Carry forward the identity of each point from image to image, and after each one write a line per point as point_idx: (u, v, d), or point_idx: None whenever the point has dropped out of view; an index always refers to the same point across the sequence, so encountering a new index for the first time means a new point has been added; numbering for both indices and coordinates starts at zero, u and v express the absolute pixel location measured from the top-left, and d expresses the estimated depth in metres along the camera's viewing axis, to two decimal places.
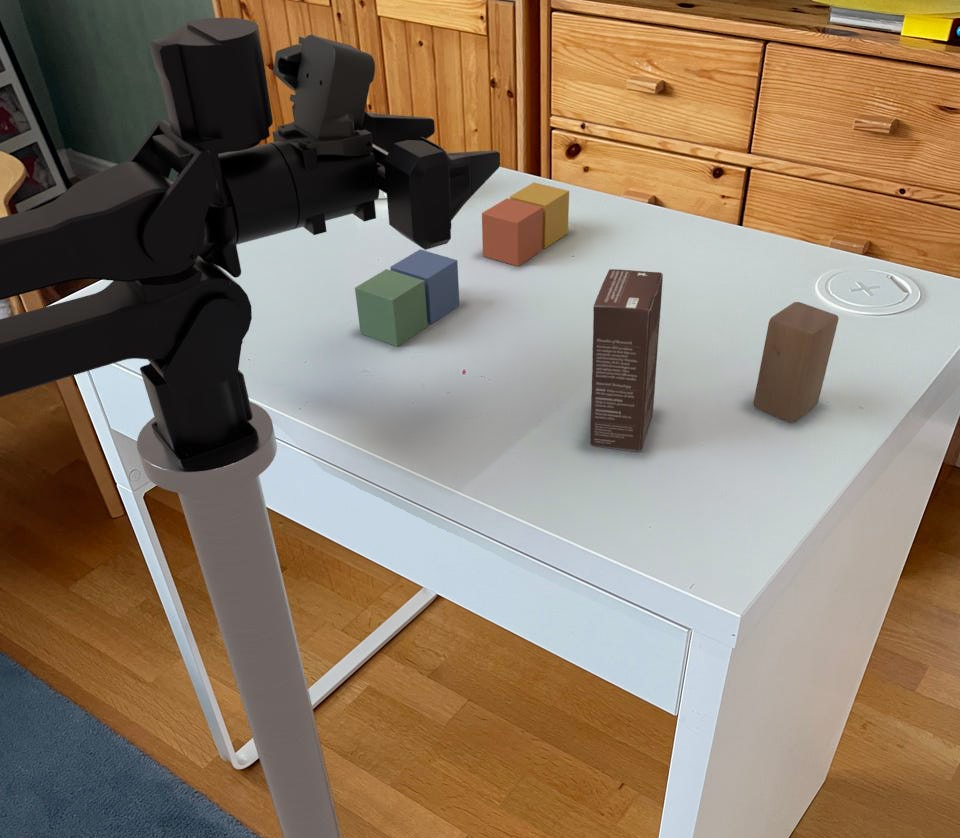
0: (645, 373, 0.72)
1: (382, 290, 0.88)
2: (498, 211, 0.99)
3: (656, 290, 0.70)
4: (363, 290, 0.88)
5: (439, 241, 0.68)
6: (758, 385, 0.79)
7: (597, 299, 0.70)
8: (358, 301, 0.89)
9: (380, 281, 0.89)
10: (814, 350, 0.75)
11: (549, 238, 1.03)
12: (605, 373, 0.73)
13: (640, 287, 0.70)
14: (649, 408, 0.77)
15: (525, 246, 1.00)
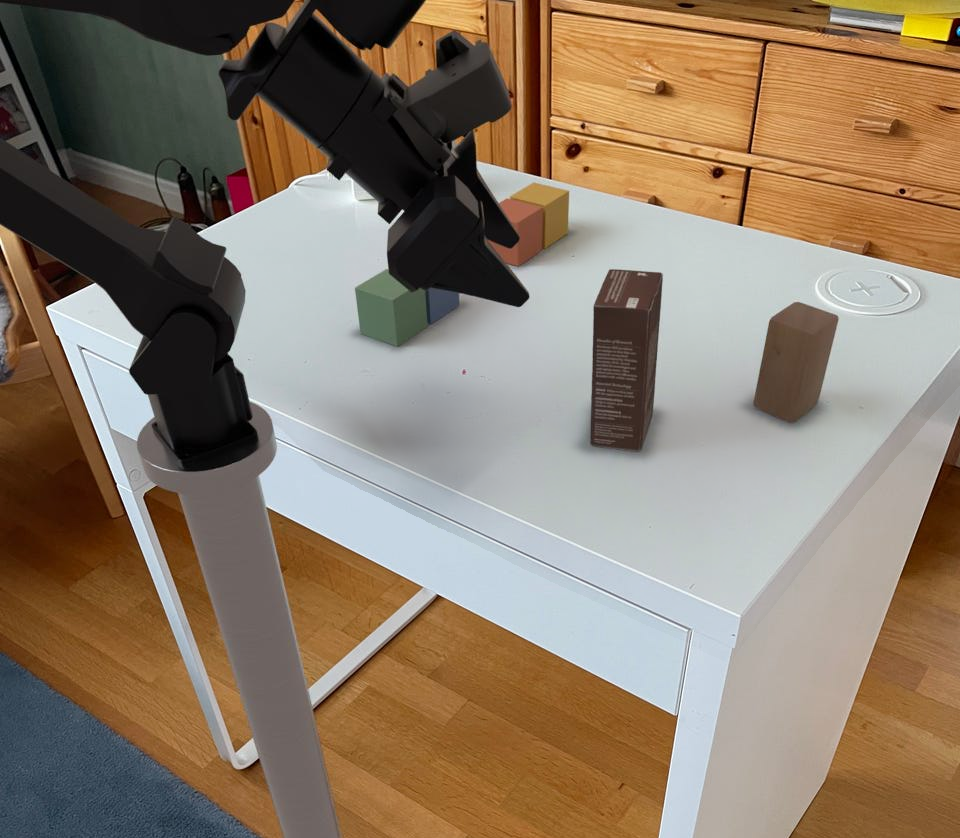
0: (645, 373, 0.72)
1: (382, 290, 0.88)
2: None
3: (656, 290, 0.70)
4: (363, 290, 0.88)
5: (406, 280, 0.60)
6: (758, 385, 0.79)
7: (597, 299, 0.70)
8: (358, 301, 0.89)
9: (380, 281, 0.89)
10: (814, 350, 0.74)
11: (549, 238, 1.03)
12: (605, 373, 0.73)
13: (640, 287, 0.70)
14: (649, 408, 0.77)
15: (525, 246, 1.00)
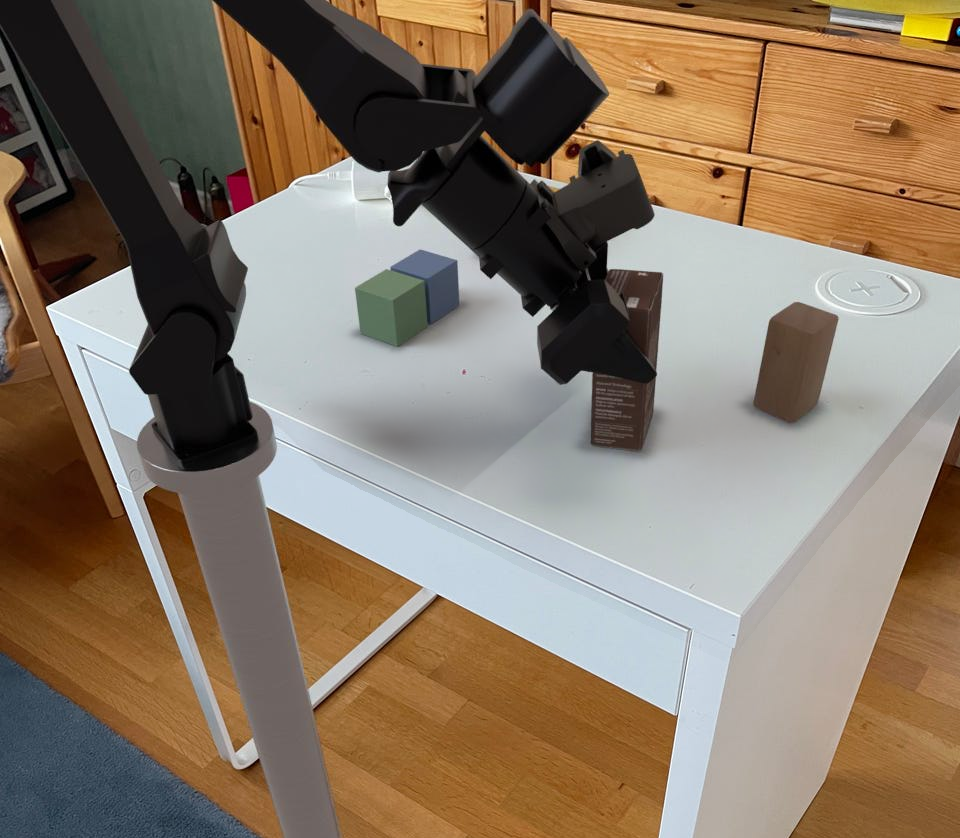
0: None
1: (382, 290, 0.88)
2: None
3: (656, 290, 0.70)
4: (363, 290, 0.88)
5: (557, 375, 0.65)
6: (758, 385, 0.79)
7: None
8: (358, 301, 0.89)
9: (380, 281, 0.89)
10: (814, 350, 0.74)
11: None
12: None
13: (640, 287, 0.70)
14: (649, 408, 0.77)
15: None
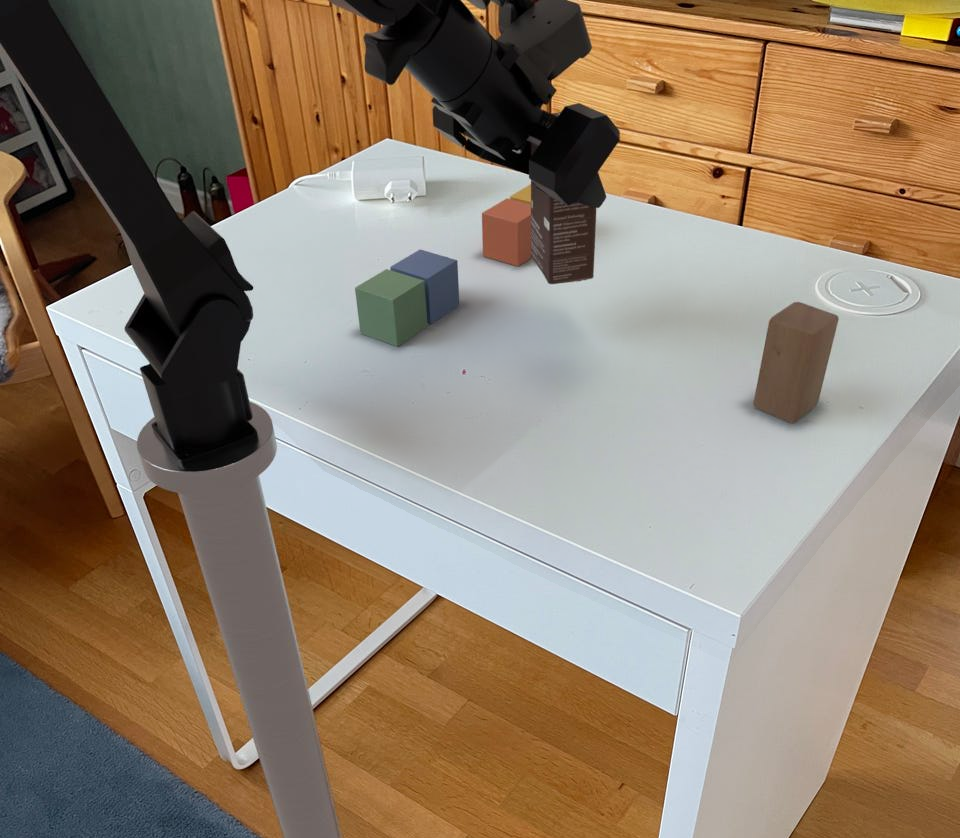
0: None
1: (382, 290, 0.88)
2: (498, 211, 0.99)
3: None
4: (363, 290, 0.88)
5: (570, 194, 0.71)
6: (758, 385, 0.79)
7: None
8: (358, 301, 0.89)
9: (380, 281, 0.89)
10: (814, 350, 0.74)
11: None
12: (562, 207, 0.80)
13: None
14: None
15: (525, 246, 1.00)
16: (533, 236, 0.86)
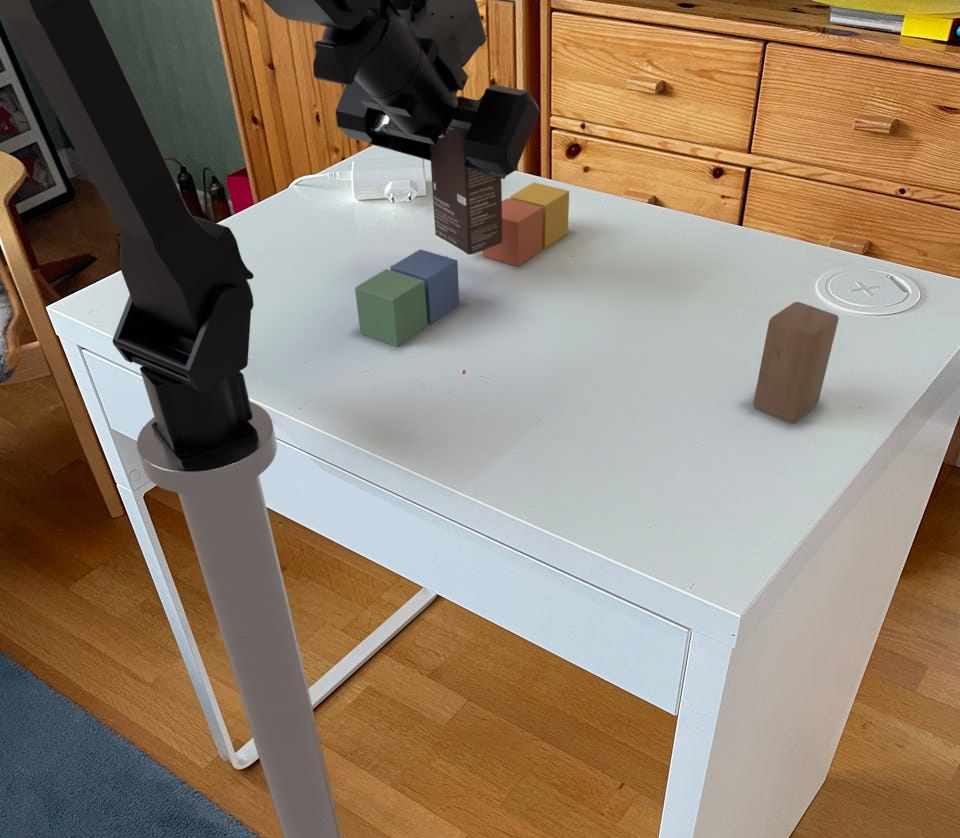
0: None
1: (382, 290, 0.88)
2: None
3: None
4: (363, 290, 0.88)
5: (511, 164, 0.80)
6: (758, 385, 0.79)
7: None
8: (358, 301, 0.89)
9: (380, 281, 0.89)
10: (814, 350, 0.74)
11: (549, 238, 1.03)
12: (475, 182, 0.89)
13: None
14: None
15: (525, 246, 1.00)
16: (439, 215, 0.94)
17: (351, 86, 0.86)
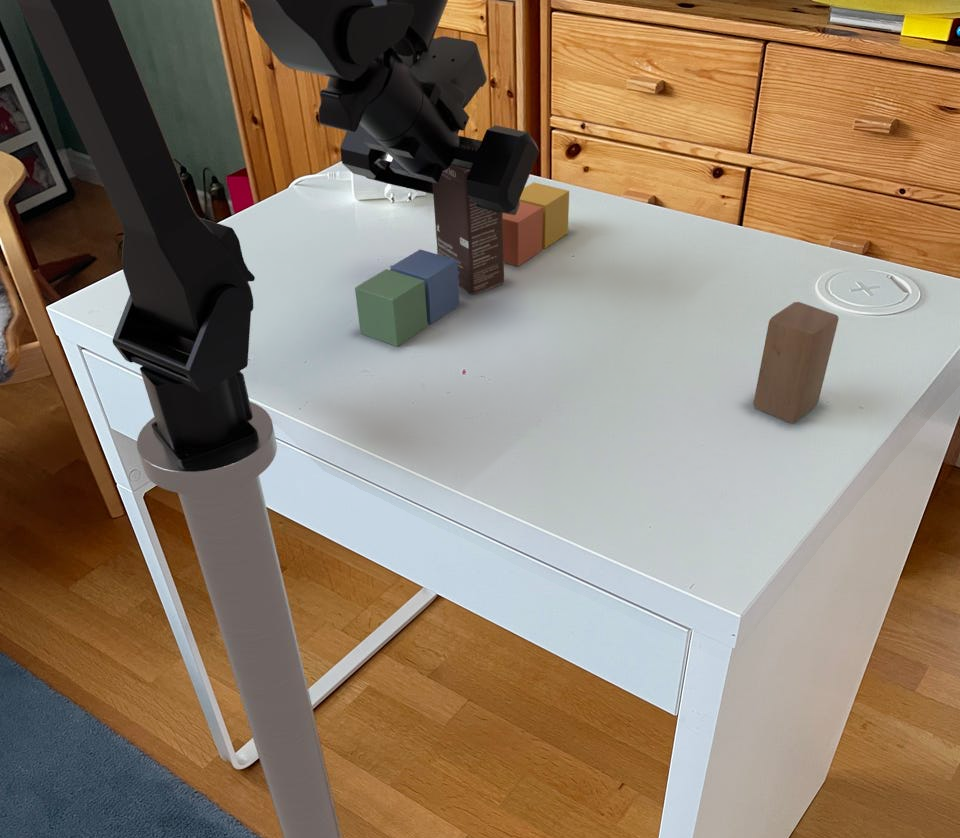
0: None
1: (382, 290, 0.88)
2: None
3: None
4: (363, 290, 0.88)
5: (511, 203, 0.83)
6: (758, 385, 0.79)
7: (460, 168, 0.88)
8: (358, 301, 0.89)
9: (380, 281, 0.89)
10: (814, 350, 0.74)
11: (549, 238, 1.03)
12: (477, 226, 0.92)
13: None
14: None
15: (525, 246, 1.00)
16: (442, 255, 0.97)
17: None
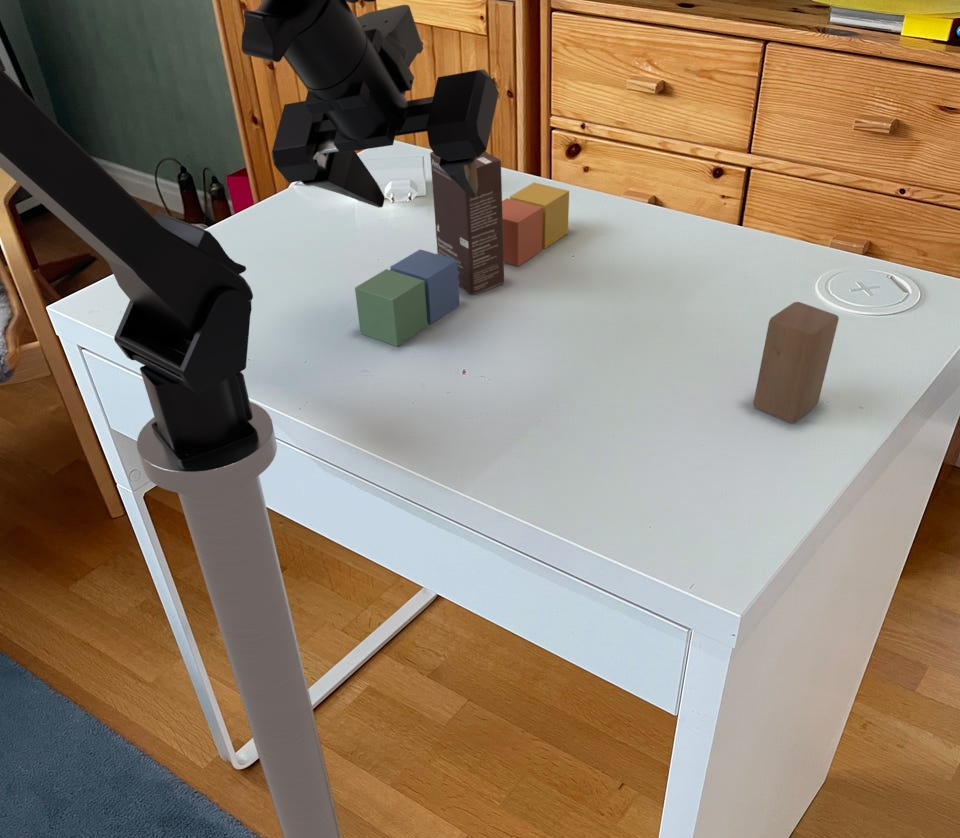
0: None
1: (382, 290, 0.88)
2: None
3: None
4: (363, 290, 0.88)
5: (481, 140, 0.73)
6: (758, 385, 0.79)
7: None
8: (358, 301, 0.89)
9: (380, 281, 0.89)
10: (814, 350, 0.74)
11: (549, 238, 1.03)
12: (477, 226, 0.92)
13: None
14: None
15: (525, 246, 1.00)
16: (442, 255, 0.97)
17: (285, 124, 0.79)
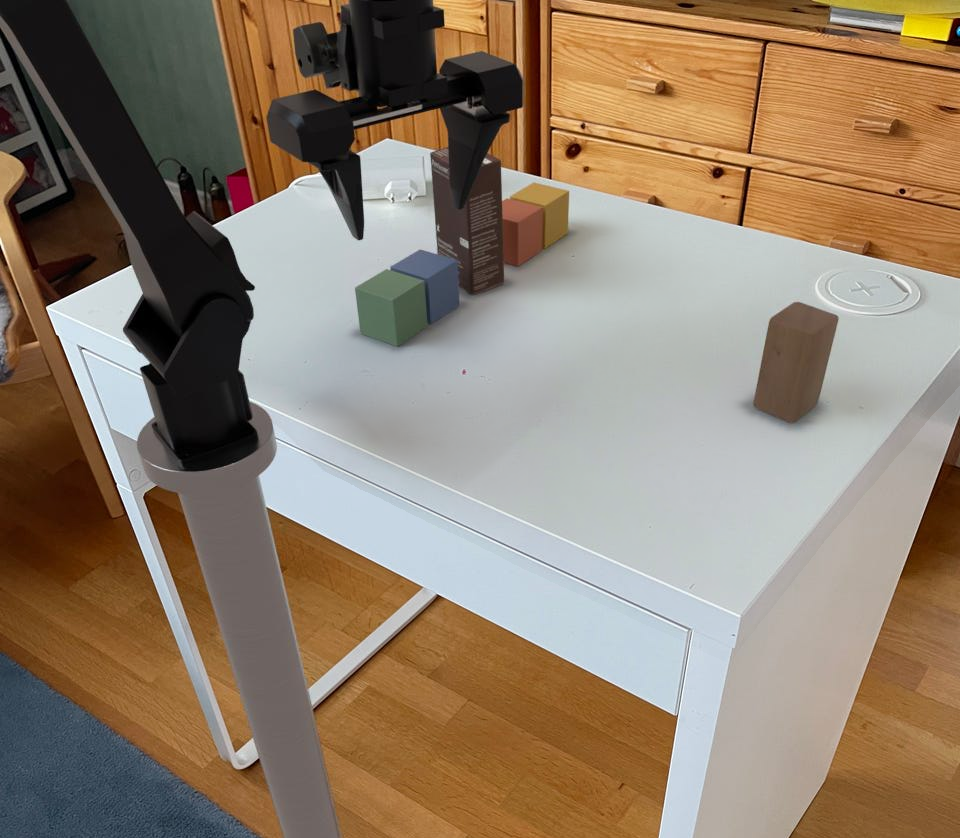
0: None
1: (382, 290, 0.88)
2: None
3: None
4: (363, 290, 0.88)
5: (523, 90, 0.73)
6: (758, 385, 0.79)
7: None
8: (358, 301, 0.89)
9: (380, 281, 0.89)
10: (814, 350, 0.74)
11: (549, 238, 1.03)
12: (477, 226, 0.92)
13: None
14: None
15: (525, 246, 1.00)
16: (442, 255, 0.97)
17: (294, 104, 0.67)
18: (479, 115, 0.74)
